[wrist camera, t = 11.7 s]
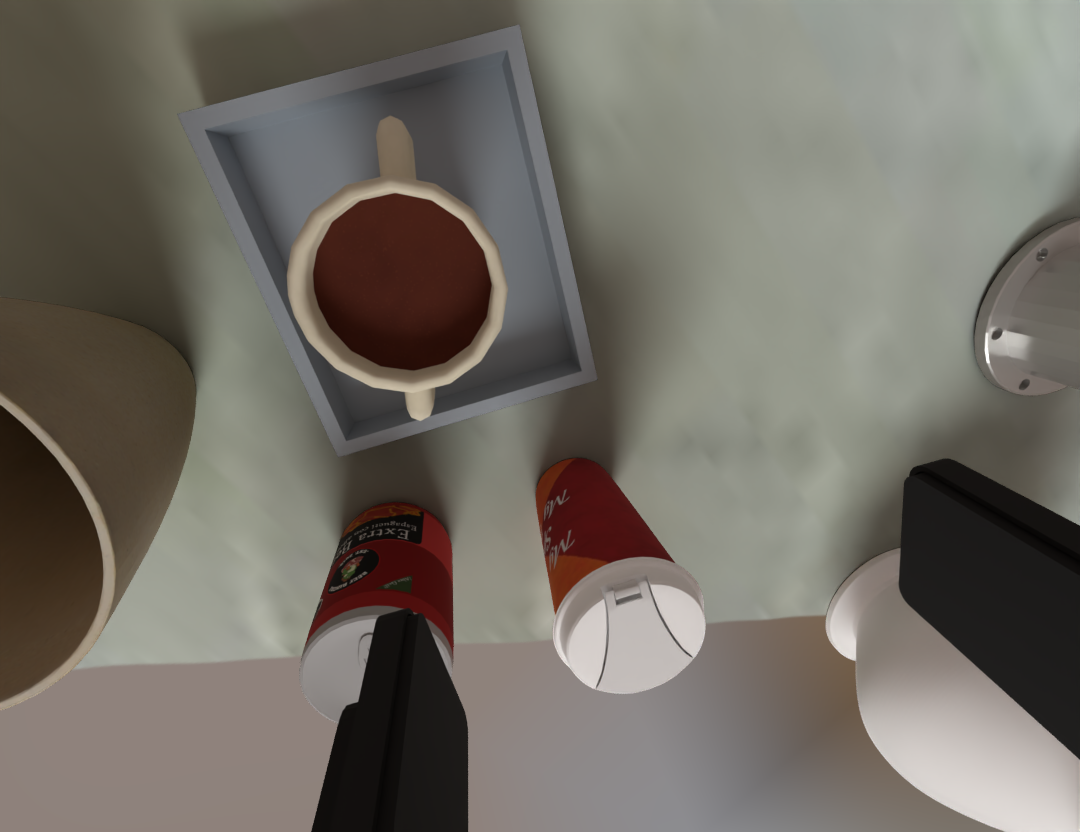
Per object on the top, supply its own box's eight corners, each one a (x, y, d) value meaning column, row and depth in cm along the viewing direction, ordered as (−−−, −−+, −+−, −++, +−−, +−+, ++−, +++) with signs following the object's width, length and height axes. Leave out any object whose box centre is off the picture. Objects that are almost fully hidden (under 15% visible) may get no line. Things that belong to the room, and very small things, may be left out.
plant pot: (242, 519, 34) (86, 754, 19) (-36, 458, 30) (-499, 699, 15) (294, 302, 30) (142, 395, 15) (-24, 197, 26) (-654, 185, 11)
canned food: (420, 480, 35) (407, 591, 25) (471, 566, 38) (479, 694, 28) (316, 527, 35) (262, 657, 25) (376, 608, 38) (350, 752, 28)
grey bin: (511, 46, 27) (519, 24, 24) (583, 363, 34) (597, 379, 31) (210, 125, 26) (177, 113, 23) (348, 433, 33) (338, 457, 30)
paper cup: (508, 461, 36) (540, 605, 23) (615, 430, 36) (707, 554, 23) (534, 551, 39) (576, 723, 26) (633, 522, 39) (723, 676, 26)
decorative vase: (785, 692, 49) (1078, 1117, 26) (814, 534, 42) (1242, 920, 19) (952, 661, 51) (1356, 1027, 28) (1005, 506, 45) (1590, 823, 22)
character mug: (342, 150, 27) (249, 99, 15) (482, 151, 28) (502, 102, 16) (370, 358, 31) (315, 451, 19) (492, 352, 32) (514, 437, 20)
